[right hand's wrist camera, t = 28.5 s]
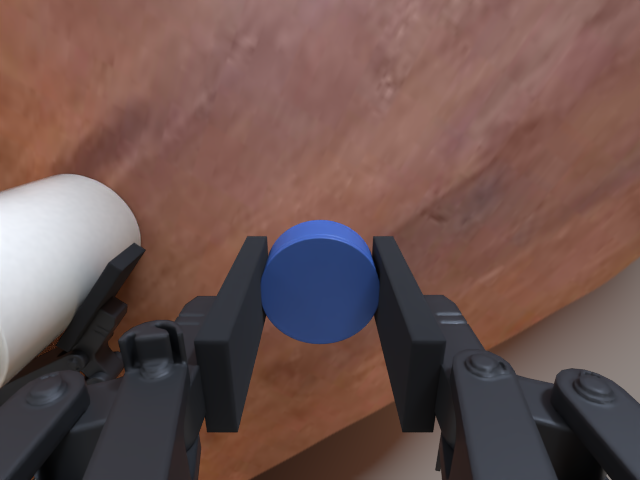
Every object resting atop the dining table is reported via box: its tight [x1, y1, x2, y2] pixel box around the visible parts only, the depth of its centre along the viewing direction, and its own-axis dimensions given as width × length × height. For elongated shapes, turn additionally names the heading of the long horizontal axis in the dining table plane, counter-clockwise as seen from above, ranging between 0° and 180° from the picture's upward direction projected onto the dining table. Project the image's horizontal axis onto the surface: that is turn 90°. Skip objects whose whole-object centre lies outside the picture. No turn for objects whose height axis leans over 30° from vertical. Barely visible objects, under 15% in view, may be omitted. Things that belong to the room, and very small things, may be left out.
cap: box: [261, 220, 380, 344], centre depth 14 cm, size 4×4×2 cm
